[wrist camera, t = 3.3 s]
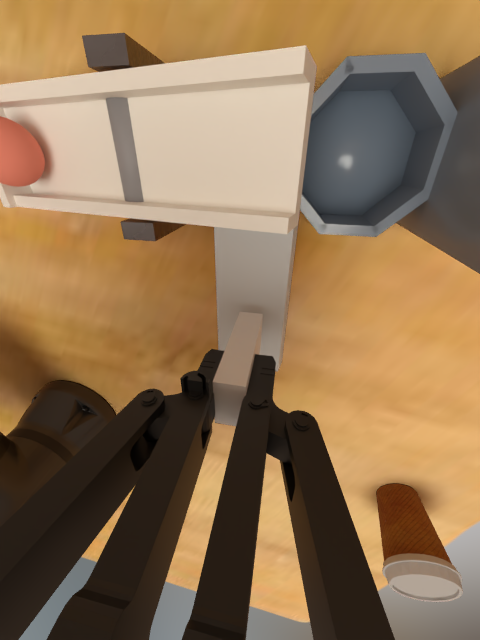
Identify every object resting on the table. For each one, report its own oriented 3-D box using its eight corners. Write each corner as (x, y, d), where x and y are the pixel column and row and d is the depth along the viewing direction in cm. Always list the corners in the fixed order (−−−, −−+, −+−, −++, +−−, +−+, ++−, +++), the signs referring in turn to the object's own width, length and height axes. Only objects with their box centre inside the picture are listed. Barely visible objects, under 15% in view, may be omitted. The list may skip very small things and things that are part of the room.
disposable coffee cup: (390, 470, 43) (420, 565, 33) (442, 493, 43) (486, 594, 33) (354, 494, 48) (370, 583, 38) (400, 514, 48) (428, 608, 38)
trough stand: (165, 216, 29) (102, 241, 20) (148, 82, 23) (49, 29, 14) (219, 218, 28) (180, 246, 19) (215, 80, 22) (156, 22, 13)
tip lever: (83, 307, 29) (51, 323, 26) (14, 95, 20) (-47, 83, 17) (283, 359, 22) (270, 389, 19) (318, 62, 12) (304, 32, 10)
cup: (283, 219, 27) (269, 278, 13) (296, 81, 21) (294, -59, 8) (406, 225, 25) (534, 299, 12) (453, 76, 20) (799, -115, 6)
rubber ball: (35, 183, 21) (-28, 186, 18) (14, 120, 19) (-62, 112, 16) (64, 186, 19) (-1, 190, 16) (44, 117, 17) (-34, 107, 14)
